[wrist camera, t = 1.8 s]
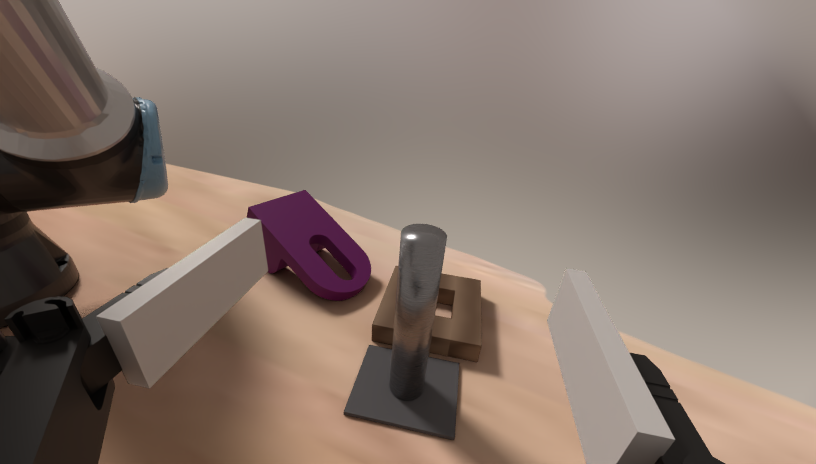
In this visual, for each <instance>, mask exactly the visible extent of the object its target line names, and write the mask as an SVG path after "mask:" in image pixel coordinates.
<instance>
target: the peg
mask: <svg viewBox="0 0 816 464" xmlns="http://www.w3.org/2000/svg"><path fill="white" fill-rule="evenodd" d="M446 239H447V235H446V233H445V232H444V231H443V230H442V229H440V228H438V227H435V226H432V225H428V224H413V225H409V226H406V227H405V228H403V230H402V231H401V241H400V254H399V267H398V280H397V293H396V305H395V318H394V331H393V344H392V357H391V370H390V383H389V387H390V391H391V393H392V394H393V395H394V396H395V397H396V398H398V399H400V400H402V401H413V400H415V399H417V398H418V397H420V396H421V394H422V392H423V389H424V383H425V377H426V370H427V364H428V357H429V350H430V344H431V337H432V331H433V324H434V318H435V311H436V305H437V298H438V292H439V285H440V279H441V272H442V266H443V259H444V253H445V246H446Z"/></svg>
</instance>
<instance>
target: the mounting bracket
mask: <svg viewBox="0 0 816 464" xmlns="http://www.w3.org/2000/svg"><path fill="white" fill-rule="evenodd" d="M247 218H251V219H257V220H261V225H262V232H263V238H264V245H265V252H266V259H267V265H268V273H275V272H277V271H279V270H281V269H283V268H285V267H287V266H289V267H290V268H291V269H292V270H293V271H294V273H295V274H296V275H297V276H298V277H299V278H300V279H301V281H302V282H303V283H304V284H305V285H306V286H307V287H308V288H309V289H310V290H311V291H312V292H313V293H315V294H316V295H318V296H320V297H322V298H325V299H328V300H334V301H342V300H346V299H349V298H352V297H354V296H355V295H357V294H358V293H359V292H360V291H361V290H362V289H363V288H364V286H365V284H366V283H367V281H368V280H369V277H370V274H371V264H370V261H369V258H368V256H367V255H366V253H365V252H364V251H363V250H362V249H361V247H360V246H359V245H358V244H357V243H356V242H355V241H354V240H353V239H352V238H351V237H350V236H349V235H348V234H347V233H346V232H345V231H344V230H343V229H342V228H341V227H340V226H339V225H338V223H337V222H336V221H335V220H334V219H333V218H332V217H331V216H330V215H329V214H328V213H327V212H326V211H325V210H324V209H323V208H322V207H321V206H320V205H319V204H318V203H317V202H316V201H315V199H314V198H313V197H312V196H311V195H310V194H309V193H308V192H307V191H306V190H303V191H300V192H297V193H293V194H290V195H287V196H283V197H280V198H277V199H274V200H270V201H267V202H264V203H261V204H257V205H254V206H251V207H248V213H247ZM323 248H326V249H327V250H328V251H329V252H330V253H331V255H332V256H333V257H334V258H335V259H336V260H337V261H338V262H339V263H340V264H341V265H342V266H343V268H344V269H345V270H346V271H347V272H348V273H349V274H350V275H351V277H352V280H343V279H341V278H339V277H338V276H337V275H336V274H335V273H334V272H333V271H332V269H331V268H330V267H329V266H328V265H327V264H326V263H325V262H324V261H323V260H322V258H321V257H320V256H319V255H318V254H317V253H316V252H317V251H319V250H321V249H323Z"/></svg>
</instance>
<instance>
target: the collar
mask: <svg viewBox="0 0 816 464" xmlns="http://www.w3.org/2000/svg"><path fill="white" fill-rule="evenodd" d="M398 267H399V266H395V269H394V271H393V274H392V276H391V279H390V281H389V284H388V286H387V289H386V291H385V294H384V296H383V299H382V301H381V304H380V306H379V309H378V311H377V314H376V316H375V319H374V321H373V324H372V341H376V342H381V343H386V344H391V345H392V344H393V331H394V318H395V305H396V293H397V280H398ZM437 303H442V304H448V305H453V306H452V316H451V318H446V317H440V316H435V318H434V324H433V331H432V337H431V344H430V350H429V352H430V353H435V354H440V355H445V356H450V357H454V358H459V359H464V360H469V361H474V362H478V358H479V354H480V350H481V346H482V344H481V280H476V279H470V278H464V277H459V276H453V275H447V274H441V279H440V285H439V292H438V298H437Z"/></svg>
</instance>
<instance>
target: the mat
mask: <svg viewBox="0 0 816 464" xmlns="http://www.w3.org/2000/svg"><path fill="white" fill-rule="evenodd" d="M391 357H392V349H388V348H383V347H378V346H373V345H369V347H368V349H367V352H366V355H365V357H364V360H363V362H362V365H361V368H360V370H359V373H358V376H357V378H356V381H355V383H354V386H353V389H352V391H351V394H350V396H349V399H348V402H347V404H346V407H345V410H344V414H345V415H349V416H353V417H357V418H362V419H366V420H370V421H374V422H379V423H383V424H387V425H391V426H396V427H400V428H404V429H408V430H413V431H417V432H421V433H425V434H430V435H434V436H438V437H442V438H447V439H451V440H454V439H455V426H456V409H457V392H458V375H459V363H456V362H451V361H446V360H441V359H436V358H432V357H428V364H427V370H426V377H425V383H424V389H423V392H422V394H421V396H420V397H418V398H417V399H415V400H413V401H402V400H400V399H398V398H396V397H395V396H394V395H393V394H392V393H391V391H390V387H389V383H390V370H391Z"/></svg>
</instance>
